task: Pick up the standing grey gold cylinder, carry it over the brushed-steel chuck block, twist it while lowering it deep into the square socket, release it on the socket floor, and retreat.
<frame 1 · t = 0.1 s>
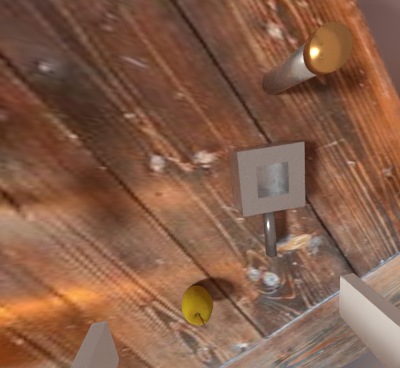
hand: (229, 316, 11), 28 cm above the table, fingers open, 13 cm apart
apple: (195, 288, 43), on the table
chuck: (258, 173, 38), on the table
grey gold cylinder: (273, 82, 35), on the table
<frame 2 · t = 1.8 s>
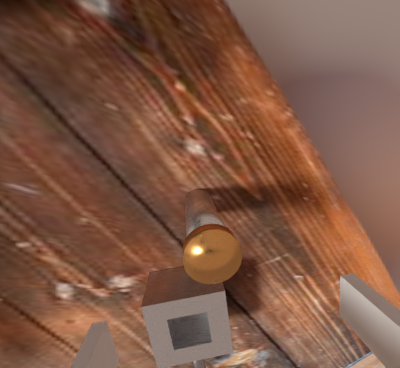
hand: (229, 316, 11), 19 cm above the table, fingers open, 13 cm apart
chuck: (188, 294, 33), on the table
grey gold cylinder: (198, 201, 29), on the table
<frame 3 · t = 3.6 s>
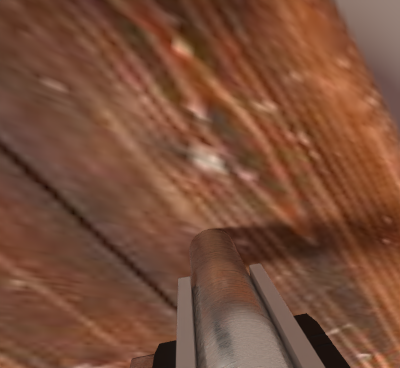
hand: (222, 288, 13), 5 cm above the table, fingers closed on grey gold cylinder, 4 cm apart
grey gold cylinder: (211, 249, 17), on the table, touching gripper
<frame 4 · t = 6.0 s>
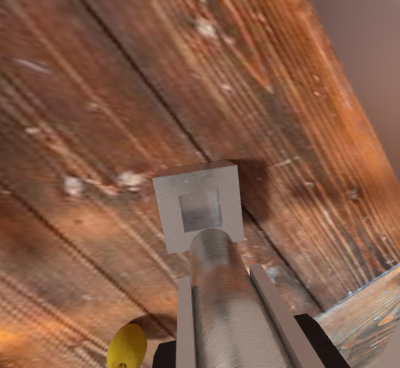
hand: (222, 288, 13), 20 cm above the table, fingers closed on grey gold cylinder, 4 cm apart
apple: (133, 326, 38), on the table
chuck: (197, 196, 32), on the table
grey gold cylinder: (211, 248, 18), point 15 cm above the table, touching gripper
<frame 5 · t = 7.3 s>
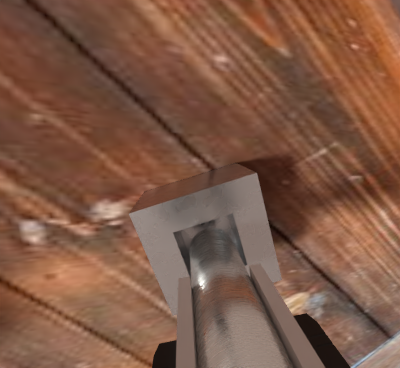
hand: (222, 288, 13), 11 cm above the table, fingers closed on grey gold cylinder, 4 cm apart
chuck: (203, 219, 24), on the table
grey gold cylinder: (211, 248, 18), point 6 cm above the table, touching gripper
when the fingers open (8 cm above the table, at t = 8.4 s): grey gold cylinder stays where it is, resting on chuck.
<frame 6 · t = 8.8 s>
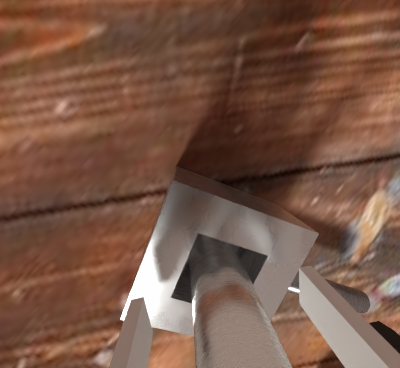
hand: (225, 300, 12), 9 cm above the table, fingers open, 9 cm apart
chuck: (207, 233, 20), on the table
grey gold cylinder: (210, 247, 18), point 3 cm above the table, touching chuck
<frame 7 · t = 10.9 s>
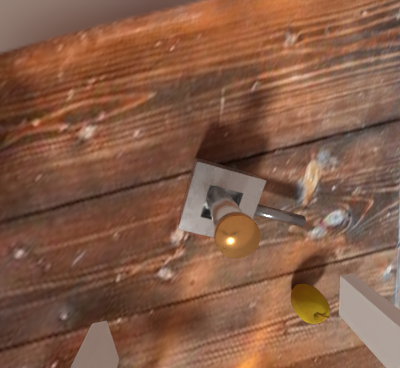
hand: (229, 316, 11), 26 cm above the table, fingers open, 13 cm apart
apple: (297, 287, 43), on the table
chuck: (215, 193, 36), on the table
grey gold cylinder: (217, 197, 34), point 3 cm above the table, touching chuck
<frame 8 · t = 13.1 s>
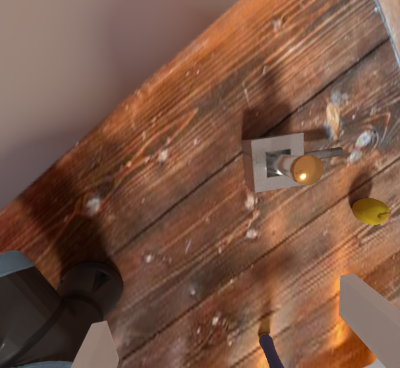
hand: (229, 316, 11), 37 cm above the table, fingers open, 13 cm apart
apple: (355, 205, 52), on the table
chuck: (265, 159, 47), on the table
rubber mallet: (263, 335, 60), on the table
grey gold cylinder: (270, 161, 44), point 3 cm above the table, touching chuck
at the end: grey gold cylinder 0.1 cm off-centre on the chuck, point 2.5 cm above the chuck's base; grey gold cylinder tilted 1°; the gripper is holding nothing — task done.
